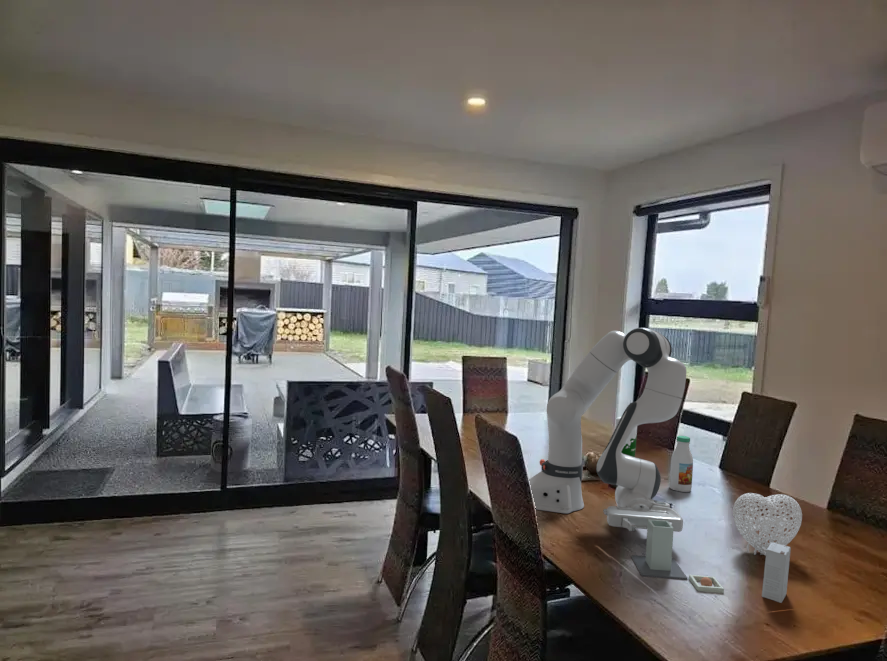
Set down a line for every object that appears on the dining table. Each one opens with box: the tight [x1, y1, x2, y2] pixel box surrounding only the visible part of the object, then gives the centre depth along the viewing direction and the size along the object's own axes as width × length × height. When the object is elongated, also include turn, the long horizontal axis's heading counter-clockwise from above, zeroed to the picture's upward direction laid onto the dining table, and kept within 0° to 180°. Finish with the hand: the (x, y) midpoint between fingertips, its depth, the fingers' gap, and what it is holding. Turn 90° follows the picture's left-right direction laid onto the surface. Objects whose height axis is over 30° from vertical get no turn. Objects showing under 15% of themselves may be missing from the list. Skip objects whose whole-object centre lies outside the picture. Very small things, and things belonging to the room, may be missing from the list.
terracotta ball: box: [699, 577, 713, 586], centre depth 137 cm, size 3×3×3 cm
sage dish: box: [688, 574, 725, 594], centre depth 138 cm, size 6×6×2 cm
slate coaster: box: [630, 554, 688, 581], centre depth 146 cm, size 11×11×1 cm
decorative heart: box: [732, 492, 803, 557], centre depth 158 cm, size 18×11×17 cm, turn 89°
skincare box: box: [761, 542, 792, 604], centre depth 134 cm, size 6×4×12 cm
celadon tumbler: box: [645, 519, 674, 571], centre depth 146 cm, size 5×5×11 cm
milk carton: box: [614, 415, 638, 458], centre depth 258 cm, size 9×9×20 cm
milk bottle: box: [669, 435, 694, 493], centre depth 214 cm, size 8×8×20 cm
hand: (650, 529), depth 153 cm, fingers open, 8 cm apart
